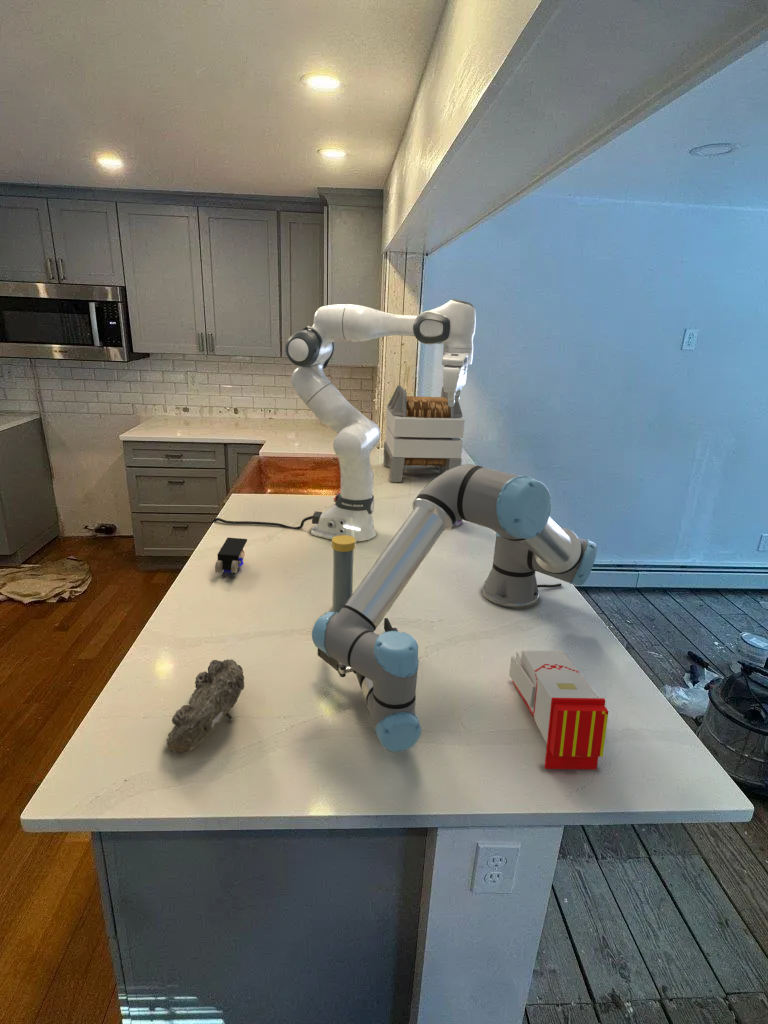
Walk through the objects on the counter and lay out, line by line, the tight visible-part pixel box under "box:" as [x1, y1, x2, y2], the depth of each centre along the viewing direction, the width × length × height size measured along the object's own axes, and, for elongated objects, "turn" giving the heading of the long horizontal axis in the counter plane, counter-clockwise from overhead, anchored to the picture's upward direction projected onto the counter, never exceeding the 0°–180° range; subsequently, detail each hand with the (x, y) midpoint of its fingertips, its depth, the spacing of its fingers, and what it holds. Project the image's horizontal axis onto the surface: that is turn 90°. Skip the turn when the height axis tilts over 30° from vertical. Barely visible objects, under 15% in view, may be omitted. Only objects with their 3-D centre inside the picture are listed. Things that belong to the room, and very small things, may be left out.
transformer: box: [383, 384, 465, 483], centre depth 268 cm, size 34×33×41 cm
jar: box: [331, 549, 355, 613], centre depth 144 cm, size 5×5×20 cm
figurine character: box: [214, 537, 248, 578], centre depth 166 cm, size 7×8×15 cm
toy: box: [509, 649, 610, 771], centre depth 110 cm, size 12×13×30 cm
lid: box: [331, 535, 357, 552], centre depth 141 cm, size 6×6×2 cm
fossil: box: [166, 658, 245, 754], centre depth 106 cm, size 22×10×15 cm
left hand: (453, 404), depth 174 cm, fingers open, 8 cm apart
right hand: (356, 625), depth 129 cm, fingers open, 13 cm apart
